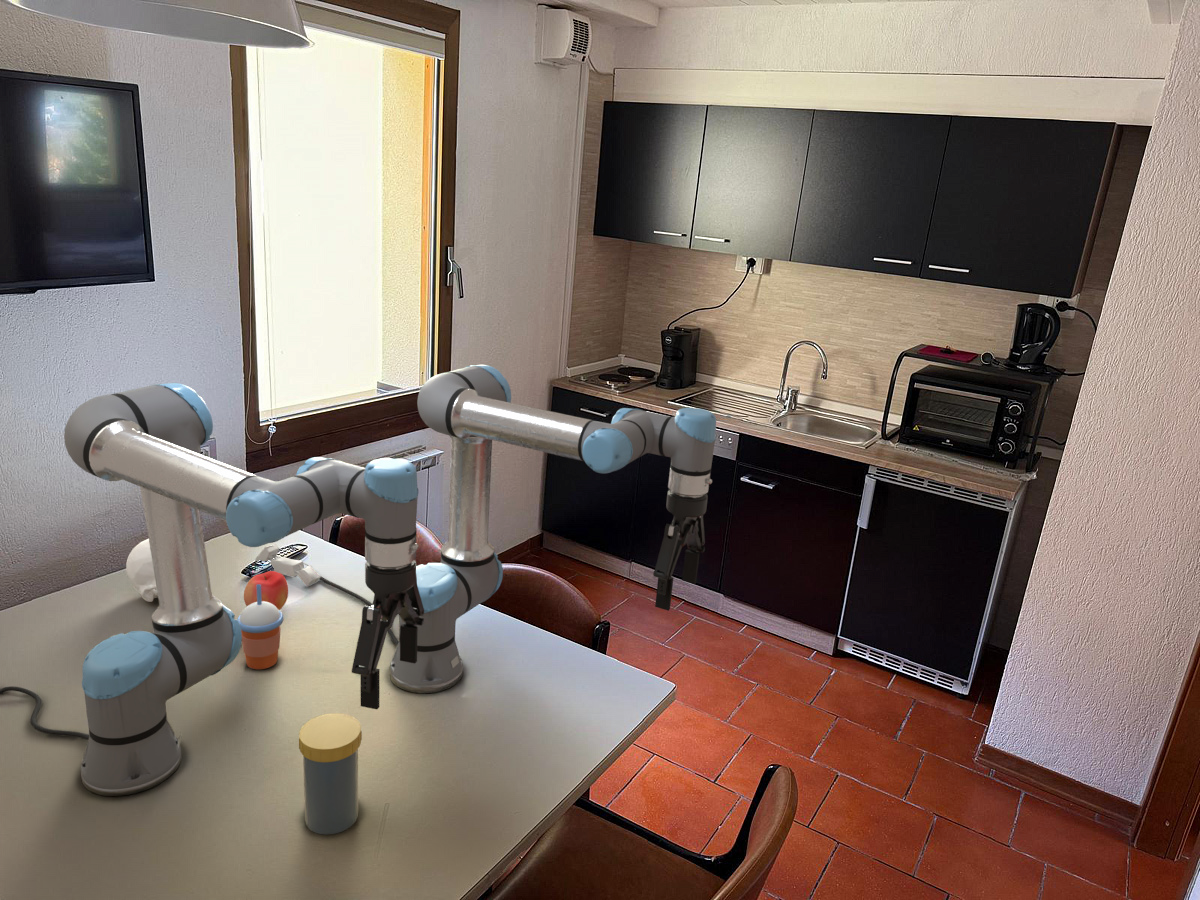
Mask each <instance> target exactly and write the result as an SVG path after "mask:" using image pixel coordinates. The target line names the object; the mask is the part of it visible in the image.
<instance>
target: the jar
mask: <svg viewBox="0 0 1200 900" xmlns="http://www.w3.org/2000/svg"><path fill="white" fill-rule="evenodd" d="M302 764H303V765H302V767H303V797H304V801H303V802H304V823H305V825H306V828H308V829H309V830H310V831H311V832H313V833H315V834H318V835H328V836H329V835H336V834H339V833H341V832H344V831H347V830H348V829H350V828H351V827H352V826H354V824H355V823H356V821H357V820H358V817H359V748H358V749H357V750H356V751H355V752H354V753H353V754H352V755H350V756H348V757H346V758H344V759H341V760H338V761H334V762H316V761H312V760H309V759H307V758H306V757H304V756H303V755H302Z"/></svg>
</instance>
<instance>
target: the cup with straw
mask: <svg viewBox="0 0 1200 900" xmlns="http://www.w3.org/2000/svg"><path fill="white" fill-rule="evenodd" d="M256 588H257V602H254V603H252V604H250V605H248V606H245V607H244V609H243V610H242V611H241V613H240V614H239V615H238V616H237V619H236V620H238V622H239V624H240V628H241V633H242V643H241V647H242V650H243V651H242V652H243V653H244V657H245V662H246V666H247V667H248V668H250V669H253V670H265V669H269V668H271V667H274V666H275V665H276V664H277V663H278V658H279V649H280V644H281V630H282V627H281V625H282V624H283V622H284V614H283V612H282V611H281V610H280V611H279V610H278V609H277V607H276V606H274V605H273V604H271V603H269V602H265V601H262V597H261V585H260V584H258V585H256Z"/></svg>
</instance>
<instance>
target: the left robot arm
mask: <svg viewBox="0 0 1200 900" xmlns="http://www.w3.org/2000/svg"><path fill="white" fill-rule="evenodd" d="M213 429H214V423H213V418H212V413H211V411H210V408H209V407H208V405H207V403H206V402H205V401H204V399H203V397H201V396H199V394H198V393H197V392H196V390H194V389H193V388H191V387H190V386H188V385H185V384H183V383H179V382H169V383H158V384H151V385H147V386H143V387H137V388H134V389H129V390H124V391H119V392H115V393H111V394H104V395H103V394H102V395H98V396H95V397H93V398H90V399H88V400H86V401H84V402H83V403H81V404H80V405H79V406H78V407H76V408H75V410H74V411H73V412H72V414H70V416H69V417H68V420H67V422H66V424H65V427H64V433H63V440H64V447H65V449H66V451H67V454H68V456H69V457H70V458H71V460H72V462H73V463H75V465H76V466H77V467H79V468H80V469H82V471H84V472H86V473H88V474H90V475H92V476H94V477H97V478H100V479H102V480H104V481H108V482H119V481H125V482H128V483H131V484H133V485H135V486H138V487H140V495H141V501H142V506H143V512H144V518H145V526H146V531H147V536H148V538H149V544H150V550H151V556H152V562H153V568H154V574H155V580H156V587H157V593H158V598H157V600H158V606H157V607H156V609H155V610H154V611H153V612H152V613H151V622H152V623H151V624H152V628H153V631H152V632H149V631H143V630H131V631H129V632H127V633H125V634H124V633H123V632H121V633H118V634H114V635H115V636H112V635H111V636H110V637H108V638H106V639H104V640H102V641H101V642H99V643H98V644H96V645H95V646H93V647H92V649H90V650H89V652H88V653H87V654H86V656H85V658H84V660H83V663H82V680H81V688H82V690H83V695H84V702H85V712H86V719H87V727H88V734H87V733H84V732H79V731H71V730H61V729H53V728H52V729H51V728H47V727H44V726H42V725H40V724H39V723H38V722H37V717H38V714H39V712H40V709H41V706H42V698H41V697H40V696H39V694H37V693H36V692H34V691H32V690H30V689H27V688H24V687H21V686H14V685H13V686H5V687H2V688H1V689H0V695H1V694H3V693H6V692H9V691H10V692H17V693H18V692H19V693H22V694H25V695H27V696H29V697H31V698H33V700H35V702H36V704H35V707H34V709H33V711H32V714H31V716H30V724H31V726H32V728H33V729H35V730H36V731H38V732H39V733H44V734H48V735H53V736H67V737H75V738H81V739H84V740H87V744H86V747H85V750H84V754H83V758H82V760H81V765H80V775H81V776H80V777H81V782H82V785H83V786H84V788H86V790H87V791H89V792H91V793H93V794H96V795H101V796H106V797H107V796H108V797H120V796H121V797H122V796H128V795H133V794H137V793H140V792H143V791H146V790H149V789H151V788H154V787H156V786H158V785H159V784H161V783H163V782H164V781H166V780H167V779H169V778H170V777H171V776H172V775H173V774H174V773H175V772H176V771H177V769H178V768H179V767H180V764H181V762H182V757H183V756H182V747H181V742H182V741H181V740H182V732H180V733H179V737H177V736H176V734H175V732H174V730H173V728H172V726H171V724H170V723H169V721H168V717H167V704H166V703H167V701H168V700H170V699H172V698H174V697H175V696H177V695H179V694H180V693H182V692H184V691H186V690H187V689H190V688H191V687H192V686H194V685H197V684H198V683H200V682H201V681H203V680H205V679H207V678H209V677H211V676H214V675H216V674H219V672H221V671H222V670H223V669H224V668H225V667H227V666H229V665H230V664H231V663H232V662H234V660H235V659H236V658H237V657H238V655H239V654H240V651H241V647H242V633H241V628H240V624H239V622H238V620H237V619H235V617H236V615H235V613H234V612H233V611H232V610H231V609H230V608H229V607H227V606H226V605H224V603H223V601H222V600H221V599H220V598H218V597H217V596H215V595H213V592H212V585H211V578H210V571H209V564H208V557H207V550H206V543H205V537H204V530H203V523H202V515H201V512H203V513H205V514H207V515H210V516H213V517H215V518H216V519H217V518H218V519H220V520H223V521H225V522H226V525H227V528H228V530H229V532H230V534H231V535H232V536H233V537H235V538H236V540H237V541H238V543H240V544H241V545H242V546H245V547H249V548H259V547H262V546H266V545H268V544H273V543H276V542H278V541H281V540H283V539H284V538H286V537H288V536H290V535H292V534H294V533H297V532H299V531H301V530H303V529H305V528H307V527H310V526H312V525H315V524H317V523H318V522H321V521H324V520H326V519H328V518H331V517H332V516H333V517H334V516H335V515H340V514H342V515H346V516H350V517H354V518H356V519H363V520H364V532H365V533H364V559H365V561H366V562H365V563H364V573H365V574H364V582H365V586H366V587H367V588H368V589H369V590H370V591H371V592H372V593H373V600H372V602H371V603H372V606H368V605H366V604H365V605H364V606H362V611H361V623H360V629H359V633H358V637H357V642H356V648H355V652H354V658H353V662H352V666H351V674H354V675H358V676H359V675H360V677H359V679H360V681H359V683H360V684H359V685H360V707H361V708H368V709H372V710H378V709H379V708H380V672H381V671H380V669H379V668H378V666H379V662H380V658H381V655H382V651H383V648H384V645H385V642H386V638H387V635H388V630H389V629H390V628H391V629H392V628H393V626H394V622H395V620H396V617H397V616H398V617H399V616H400V618H401V619H402V621H403V622H405V623H406V624H401V626H400V661H404V662H409V663H414V664H415V663H416V662H417V633H418V626H417V625H421V626H422V625H423V623H424V618H419V616H423V614H424V608H423V604H422V601H421V597H420V593H419V590H418V586H417V575H416V566H417V561H416V558H417V550H419V548H420V547H419V546H420V545H419V544H418V543H417V529H418V528H417V516H418V515H417V514H418V513H417V512H418V498H419V497H418V496H419V487H418V472H417V468H416V466H415V465H414V464H413V463H412V462H410V461H409V460H407V459H404V458H399V457H397V458H392V457H381V458H376V459H373V460H371V461H369V462H368V463H367V464H366V465H365V467H363V466H360V465H355V464H352V463H348V462H344V461H341V460H339V459H336V458H331V457H330V458H329V457H320V456H314V457H310V458H308V459H307V460H305V461H304V463H303V464H302V465H301V466H299V468H298V469H297V471H296V473H295V475H292V476H290V477H288V478H284V479H282V480H279V481H277V480H275V481H274V480H271V479H268V478H265V477H262V476H259V475H256V474H253V473H251V472H248V471H245V470H243V469H240V468H237V467H236V466H235V467H234V466H232V465H229V464H227V463H224V462H222V461H219V460H216V459H213V458H212V457H208V456H205V455H203V454H202V449H201V446H204V445H206V443H207V442H208V441H209V440H210V438H211V436H212V434H213ZM381 619H382V620H386V621H387V622H384V621H382V620H381Z"/></svg>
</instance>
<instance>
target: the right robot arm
mask: <svg viewBox="0 0 1200 900" xmlns="http://www.w3.org/2000/svg"><path fill="white" fill-rule="evenodd" d="M416 402H417V403H416V404H417V411H418V415H419V417H420V418H421V420H422V422H423V423H424V425H426V426H427V427H428V428H430V429H431V430H433V431H435V432H437V433H439V434H443V435H446V436H449V437H450V461H449V462H450V464H449V465H450V467H449V472H450V473H449V498H448V499H449V500H448V501H449V503H448V534H447V535H448V536H447V537H448V539H447V541H446V542H445V543H444V544H443V545H441V547H440V562H428V563H427V564H423V563H422V564H418V565H416V575H417V586H418V590H419V593H420V597H421V601H422V604H423V608H424V614H423V616H419V618H424V623H423V625H422V626H421V625H417V626H418V633H417V662H416V663H415V664H414V663H409V662H404V661H400V626H401V624H406V623H405V622H403V621H402V619H401V618H400V616H399V615H398V639H397V637H396V635H395V634H394V631H393V630H392V628H390V629H389V630H388V632H387V634H388V635H389V637H390V639H391V640H392V642H393V643H394V644H395V646H396V648H395V651H394V653H393V656H392V659H391V660H390V665H389V679H390V681H391V682H392V683H393V684H394V685H395V686H396V687H398V688H399V689H401V690H404V691H407V692H410V693H416V694H430V693H431V694H432V693H438V692H441V691H445V690H447V689H450V688H451V687H453V686H455V685H456V684H457V683H458V682H459V681H460V680H461V679H462V676H463V672H464V664H463V660H462V657H461V656H460V653H459V649H458V646H457V642H456V622H457V620H458V619H459V618H461V617H462V616H463V615H465V614H467V613H469V612H470V611H471V610H472V609H474V608H476V607H477V606H479V605H480V604H482V603H484V602H486V601H487V600H489V599H490V598H491V597H492V596H493V595H494V594H495V593H496V592H497V591H498V590H499V588H500V586H501V585H502V581H503V578H504V569H503V564H502V561H501V560H499V559H498V558H499V556H498V555H497V554H498V553H496V551H495V547H494V545H492V544H491V542H489V524H490V523H489V522H490V497H491V479H492V478H491V477H492V452H493V451H492V450H493V441H494V442H499V443H503V444H507V445H512V446H517V447H521V448H524V449H529V450H534V451H538V452H542V453H546V454H551V455H555V456H558V457H559V456H560V457H563V458H567V459H572V460H576V461H581V462H585V464H586V465H587V467H589V468H590V469H591V470H592V471H593V472H595V473H598V474H609V473H612V472H617V471H619V470H621V469H623V468H624V467H626V466H627V465H628V464H630V463H632V462H634V461H635V460H637V459H639V458H641V457H642V456H644V455H646V454H652V455H657V456H660V457H666V458H667V457H668V458H670V467H669V473H668V474H669V476H668V483H667V488H668V490H667V495H666V504H665V505H666V506H665V508H666V510H667V511H668V512H669V513H671V514H672V515H673V518H672V520H671V522H670V524H669V523H666V524H665V527H664V533H663V539H662V541H661V546H660V550H659V553H658V555H657V560H656V564H655V567H654V570H653V577H654V578H657V584H656V594H655V604H654V607H655V608H659V609H661V610H665V611H670V610H671V603H672V595H673V587H674V586H673V585H674V576H673V574H674V571H675V568H676V565H677V562H678V559H679V557H680V554H681V551H682V548H684V547H685V546H686V547H687V549H686V550H685V551H684V552H685V553H684V559H683V560H684V562H683V569H682V570H683V571H682V579H681V582H686V583H690V584H693V585H695V584H696V583H697V578H698V570H699V563H700V554H701V553H704V552H705V550H706V547H705V546H704V545H705V543H706V538H705V526H704V525H705V524H704V515H705V514H706V513H707V508H708V507H707V506H708V498H709V496H708V493H709V488H710V485H712V483H713V479H711V472H712V465H713V464H712V463H713V458H714V451H715V443H716V440H717V436H716V433H717V432H716V431H717V417H716V415H715V414H714V413H713V412H712V411H710V410H707V409H703V408H699V407H697V408H696V407H695V408H694V407H682V408H679V409H677V411H676V413H675V415H674V416H670V415H666V414H661V413H657V412H656V413H655V412H650V411H647V410H643V409H640V408H628V407H622V408H619V409H618V410H617V411H616V413H615V414H614V415H613V416H612V419H611V422H610V423H609V422H604V421H603V422H602V421H597V420H593V419H589V418H585V417H580V416H574V415H570V414H565V413H561V412H556V411H551V410H546V409H542V408H538V407H533V406H527V405H523V404H518V403H515V402H512V391H511V387H510V384H509V382H508V380H507V378H506V377H504V375H503V373H502V372H501V371H500V370H499V369H497V368H495V367H494V366H491V365H488V364H477V365H472V364H471V365H467V366H465V367H463V368H457V369H455V370H450V371H446V372H442V373H439V374H435V375H433V376H432V377H430V378H429V379H428V380H427V381H426V382H425V383H423V385H422V386H421V388H420V389H419V392H418V395H417V401H416ZM318 581H321V582H322V583H324V584H326V585H328V586H330V587H332V588H335V589H337V590H338V591H341V592H343V593H345V594H347V595H350V596H351V597H353V598H355V599H357V600H358V601H360V602H362V603H363V604H365V605H366V606H372V603H373V602H371V601H369V600H367V599H366V598H365V597H363V596H361V595H359V594H357V593H355V592H353V591H351V590H349V589H347V588H346V587H343V586H341V585H339V584H336V583H334V582H332V581H330V580H328V579H327V578H326V577H323V576H321V577H320V579H319V580H318ZM381 621H384V622H387V620H382V619H381Z"/></svg>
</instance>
